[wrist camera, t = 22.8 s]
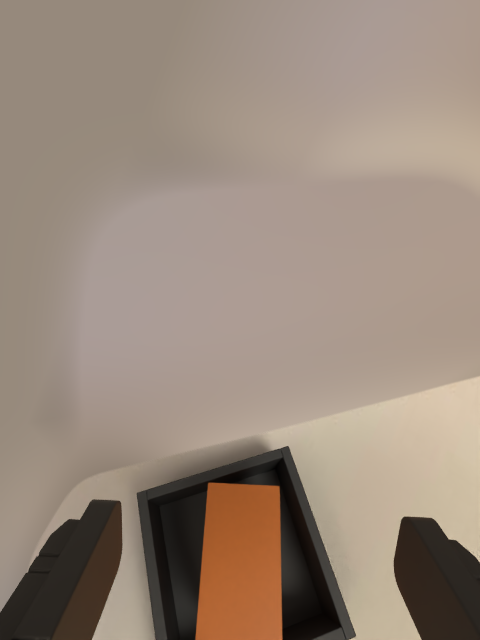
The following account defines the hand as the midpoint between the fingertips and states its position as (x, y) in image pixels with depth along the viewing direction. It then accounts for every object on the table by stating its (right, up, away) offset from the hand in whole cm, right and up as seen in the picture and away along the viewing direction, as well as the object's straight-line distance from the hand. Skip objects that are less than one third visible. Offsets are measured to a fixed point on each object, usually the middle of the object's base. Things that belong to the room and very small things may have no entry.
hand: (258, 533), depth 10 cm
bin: (-1, -16, +23) cm, 28 cm away
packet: (-1, -16, +22) cm, 27 cm away
